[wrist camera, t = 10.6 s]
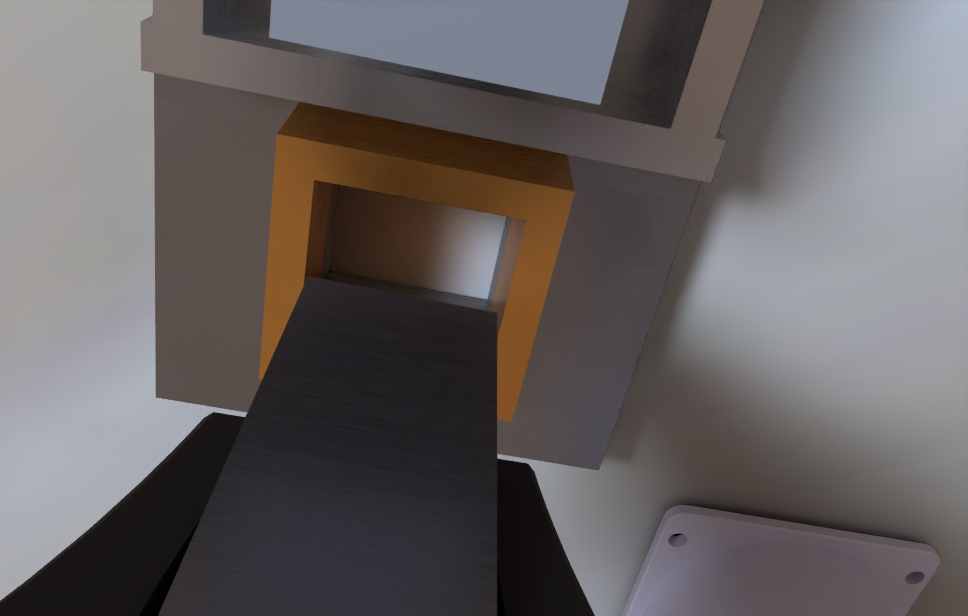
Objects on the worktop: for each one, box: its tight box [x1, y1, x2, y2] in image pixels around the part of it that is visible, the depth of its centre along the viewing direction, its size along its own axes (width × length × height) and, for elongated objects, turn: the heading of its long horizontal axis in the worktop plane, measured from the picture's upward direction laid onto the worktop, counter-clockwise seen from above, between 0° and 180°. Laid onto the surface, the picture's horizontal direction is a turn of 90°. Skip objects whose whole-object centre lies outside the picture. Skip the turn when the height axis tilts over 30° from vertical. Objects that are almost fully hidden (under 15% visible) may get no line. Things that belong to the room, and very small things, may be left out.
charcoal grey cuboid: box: [158, 276, 497, 616], centre depth 10 cm, size 3×3×7 cm
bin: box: [141, 0, 766, 470], centre depth 15 cm, size 17×11×4 cm, turn 169°
